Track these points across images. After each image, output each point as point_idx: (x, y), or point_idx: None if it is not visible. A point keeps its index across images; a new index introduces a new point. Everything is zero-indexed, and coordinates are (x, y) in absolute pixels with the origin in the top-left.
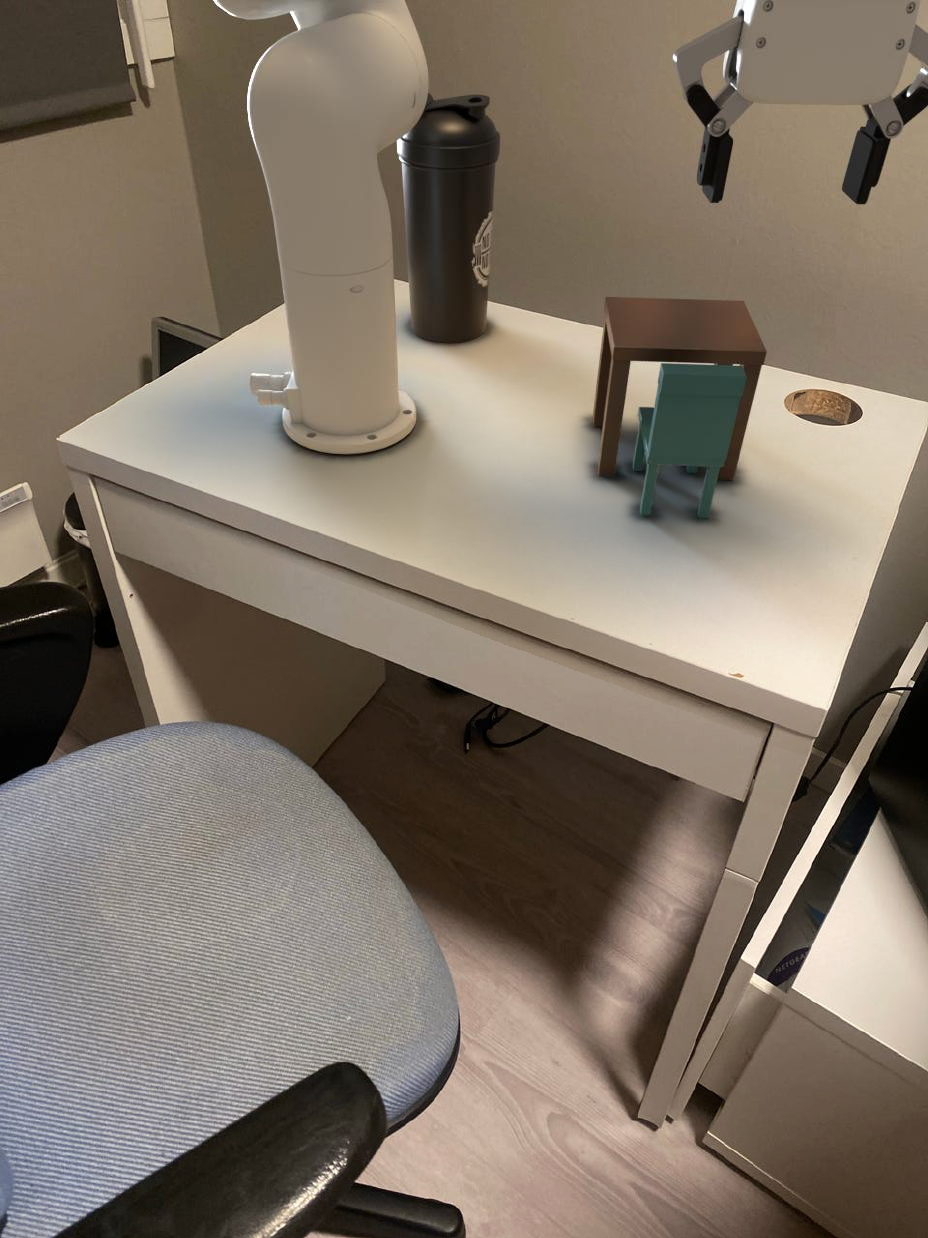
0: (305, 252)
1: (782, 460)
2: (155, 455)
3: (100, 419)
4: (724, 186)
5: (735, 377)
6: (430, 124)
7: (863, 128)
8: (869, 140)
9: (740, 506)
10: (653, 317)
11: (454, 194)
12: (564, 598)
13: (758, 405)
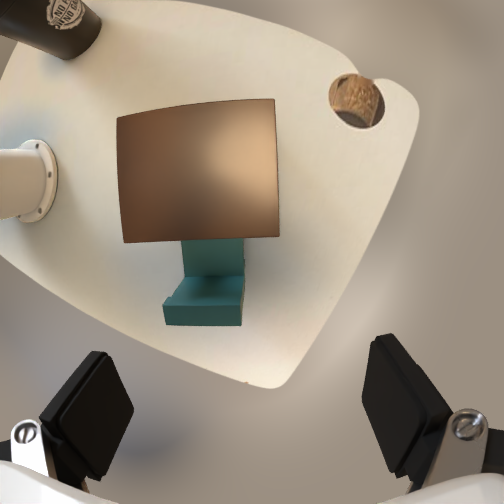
0: None
1: (313, 181)
2: None
3: None
4: (127, 424)
5: (231, 325)
6: None
7: (427, 428)
8: (393, 466)
9: (270, 248)
10: (161, 162)
11: (10, 23)
12: (162, 341)
13: (307, 97)
